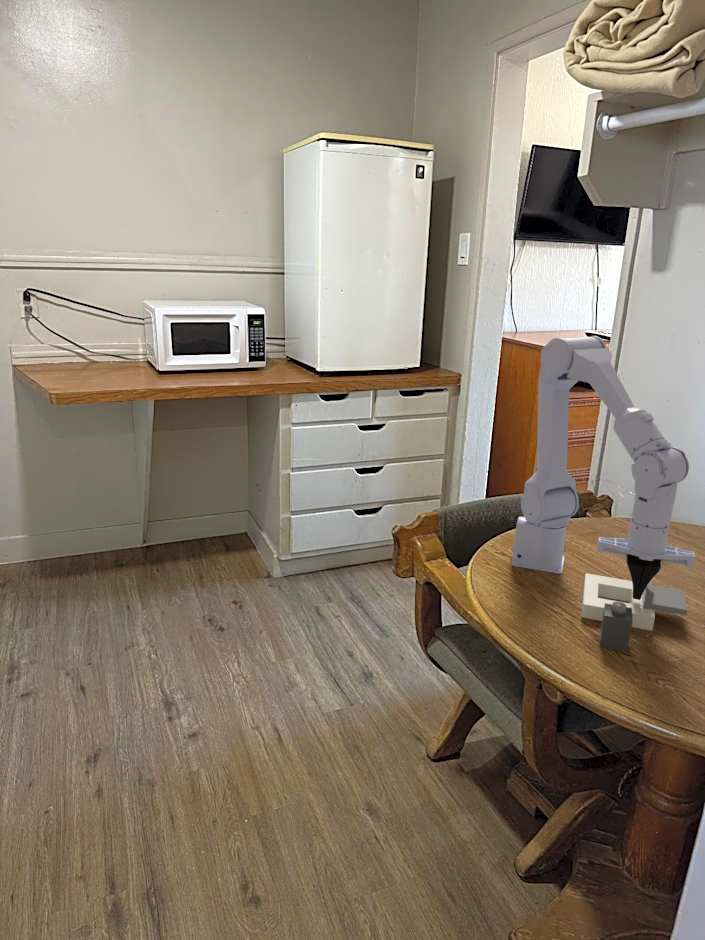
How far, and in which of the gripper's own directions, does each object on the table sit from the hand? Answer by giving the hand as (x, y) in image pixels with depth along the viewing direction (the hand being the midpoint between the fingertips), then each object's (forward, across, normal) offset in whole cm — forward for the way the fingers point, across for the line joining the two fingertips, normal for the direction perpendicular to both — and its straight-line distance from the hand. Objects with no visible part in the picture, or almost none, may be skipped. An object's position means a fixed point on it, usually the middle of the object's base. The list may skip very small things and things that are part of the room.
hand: (636, 596), depth 112 cm
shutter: (+1, +4, +2) cm, 5 cm away
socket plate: (+4, -3, +2) cm, 5 cm away
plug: (+4, -3, -10) cm, 11 cm away
